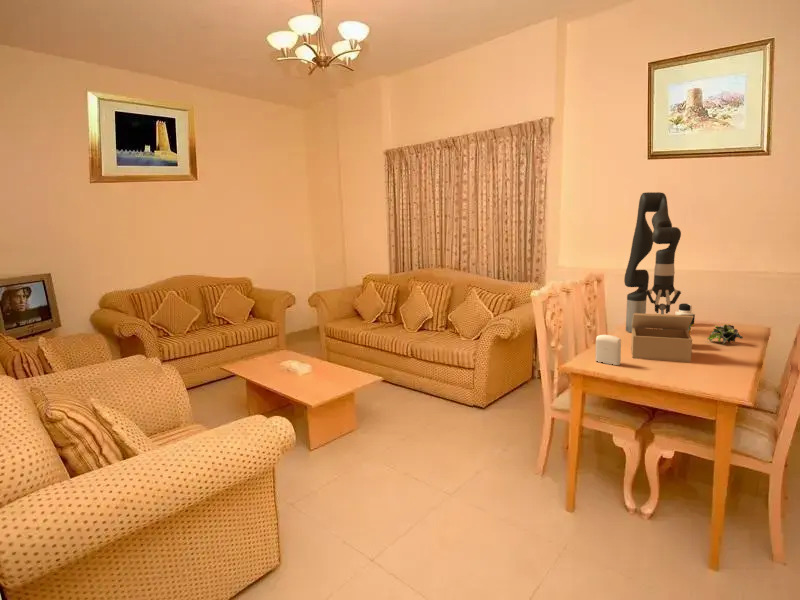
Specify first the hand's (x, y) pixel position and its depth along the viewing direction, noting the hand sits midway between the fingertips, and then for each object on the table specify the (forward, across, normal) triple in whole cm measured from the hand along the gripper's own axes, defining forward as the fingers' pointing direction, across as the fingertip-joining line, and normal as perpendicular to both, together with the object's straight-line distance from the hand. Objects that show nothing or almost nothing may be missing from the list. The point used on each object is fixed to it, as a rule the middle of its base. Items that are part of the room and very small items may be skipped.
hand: (661, 312), depth 199 cm
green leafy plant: (+20, -29, -28) cm, 45 cm away
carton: (+20, 0, -1) cm, 20 cm away
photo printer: (+20, +21, +17) cm, 33 cm away
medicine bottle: (+19, -17, -63) cm, 68 cm away
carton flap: (+5, 0, -3) cm, 6 cm away
